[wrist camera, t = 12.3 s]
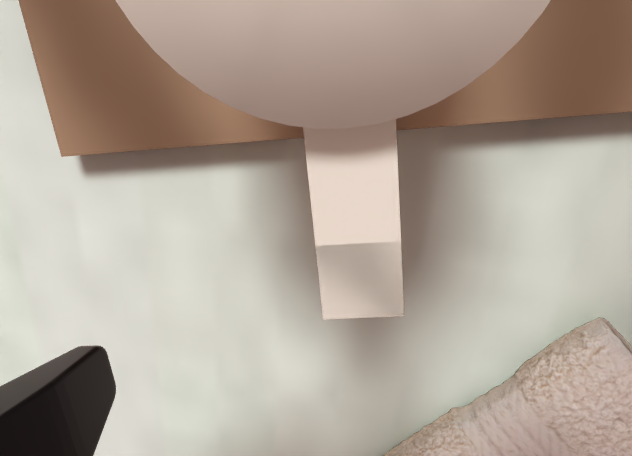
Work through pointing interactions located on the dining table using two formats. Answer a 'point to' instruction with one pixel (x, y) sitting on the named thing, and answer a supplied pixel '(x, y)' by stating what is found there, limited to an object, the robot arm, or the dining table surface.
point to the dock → (236, 126)
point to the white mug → (339, 102)
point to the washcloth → (545, 405)
